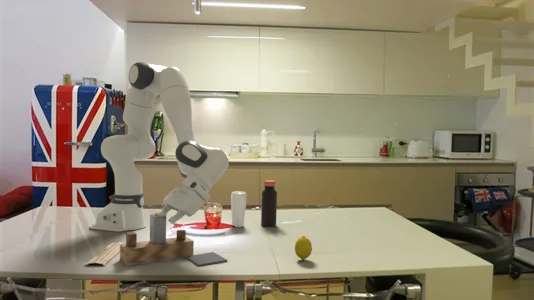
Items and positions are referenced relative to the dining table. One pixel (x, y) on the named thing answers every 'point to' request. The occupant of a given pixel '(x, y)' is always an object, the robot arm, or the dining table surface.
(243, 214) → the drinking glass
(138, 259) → the plane body
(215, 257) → the pad
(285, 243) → the dining table surface
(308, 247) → the lemon
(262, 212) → the bottle
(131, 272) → the dining table surface
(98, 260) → the newspaper
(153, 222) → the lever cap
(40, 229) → the dining table surface
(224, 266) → the dining table surface
